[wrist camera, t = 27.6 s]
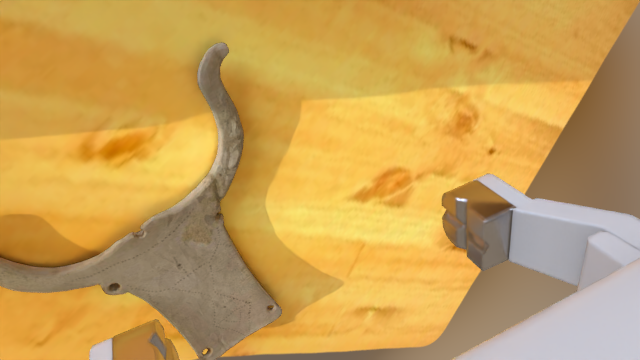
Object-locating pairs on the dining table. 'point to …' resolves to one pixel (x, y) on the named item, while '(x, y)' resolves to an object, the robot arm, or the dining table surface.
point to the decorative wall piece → (179, 251)
